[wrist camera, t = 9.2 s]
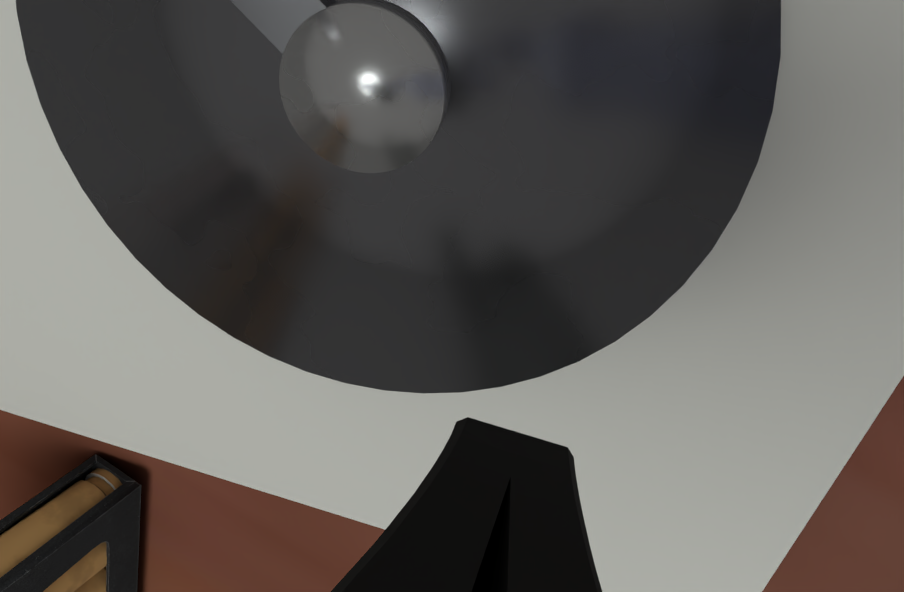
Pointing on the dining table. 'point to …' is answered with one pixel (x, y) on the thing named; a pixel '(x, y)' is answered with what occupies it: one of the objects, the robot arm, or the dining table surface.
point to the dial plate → (539, 399)
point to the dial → (412, 166)
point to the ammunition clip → (75, 534)
